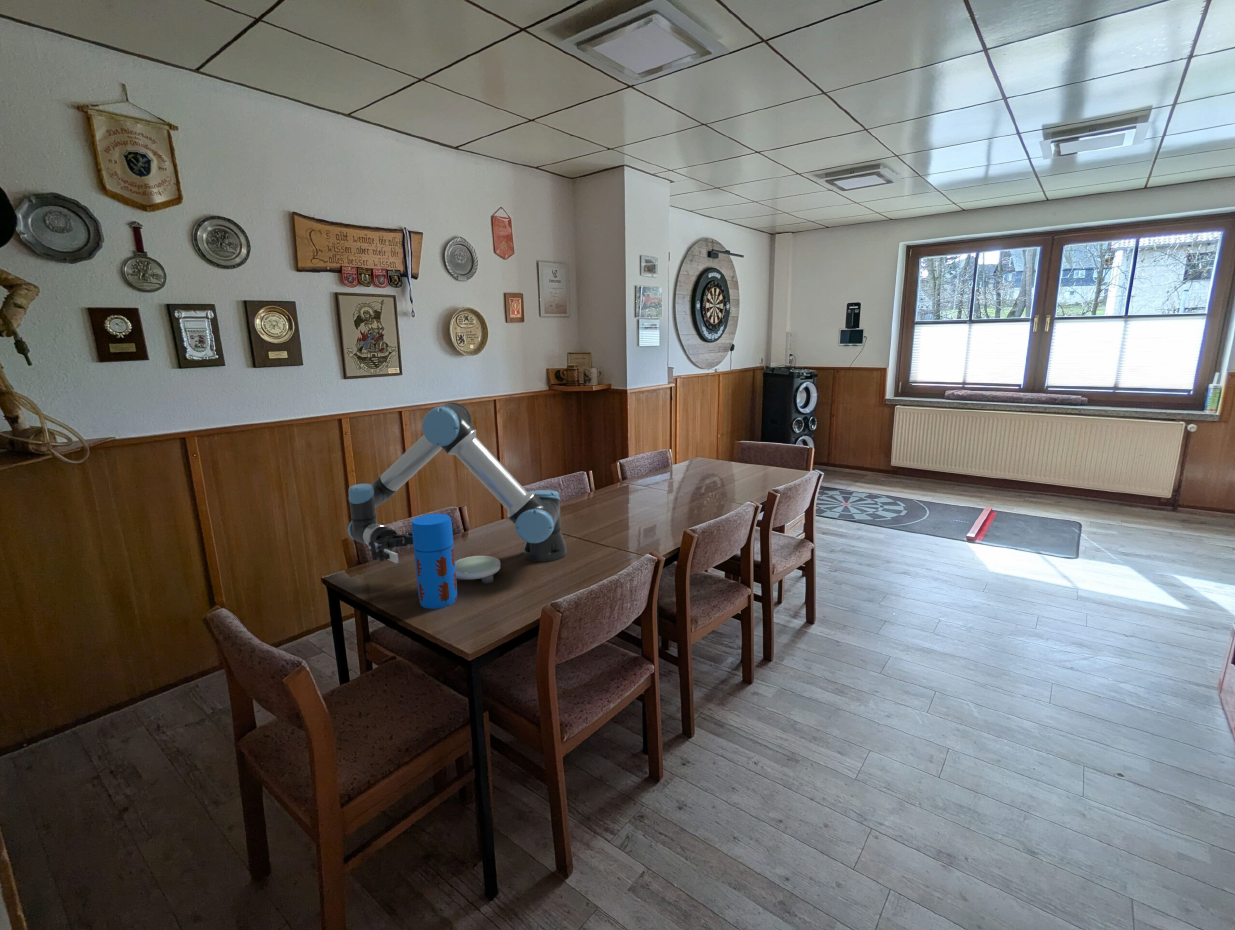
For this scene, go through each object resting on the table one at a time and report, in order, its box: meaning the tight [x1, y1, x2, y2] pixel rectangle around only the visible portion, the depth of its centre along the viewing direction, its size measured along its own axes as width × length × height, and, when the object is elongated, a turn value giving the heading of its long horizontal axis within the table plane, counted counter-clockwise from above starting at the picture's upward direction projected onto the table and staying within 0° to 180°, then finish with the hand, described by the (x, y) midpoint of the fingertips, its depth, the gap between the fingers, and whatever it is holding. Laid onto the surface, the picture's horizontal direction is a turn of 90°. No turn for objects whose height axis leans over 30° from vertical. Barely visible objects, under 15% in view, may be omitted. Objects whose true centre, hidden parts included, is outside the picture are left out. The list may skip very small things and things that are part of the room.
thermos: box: [411, 513, 458, 610], centre depth 165 cm, size 11×11×25 cm
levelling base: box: [455, 555, 501, 584], centre depth 184 cm, size 16×16×4 cm
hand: (418, 551), depth 170 cm, fingers open, 13 cm apart
